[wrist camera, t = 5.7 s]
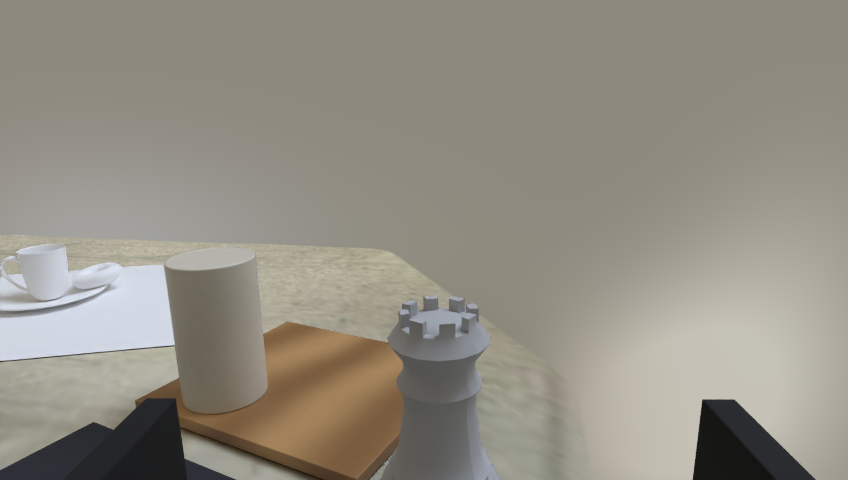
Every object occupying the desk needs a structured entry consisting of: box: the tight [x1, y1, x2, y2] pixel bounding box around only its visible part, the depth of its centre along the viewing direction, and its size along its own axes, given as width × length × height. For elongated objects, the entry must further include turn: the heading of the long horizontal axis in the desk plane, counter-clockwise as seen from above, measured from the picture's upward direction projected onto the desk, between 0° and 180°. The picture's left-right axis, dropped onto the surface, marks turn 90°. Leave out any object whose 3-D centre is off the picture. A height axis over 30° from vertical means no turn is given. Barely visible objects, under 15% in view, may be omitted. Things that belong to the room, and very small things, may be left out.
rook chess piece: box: [381, 295, 500, 480], centre depth 18 cm, size 4×4×8 cm
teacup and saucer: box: [0, 244, 123, 312], centre depth 42 cm, size 9×8×4 cm
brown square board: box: [135, 322, 403, 480], centre depth 28 cm, size 13×11×1 cm
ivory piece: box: [164, 247, 268, 414], centre depth 26 cm, size 4×4×7 cm
